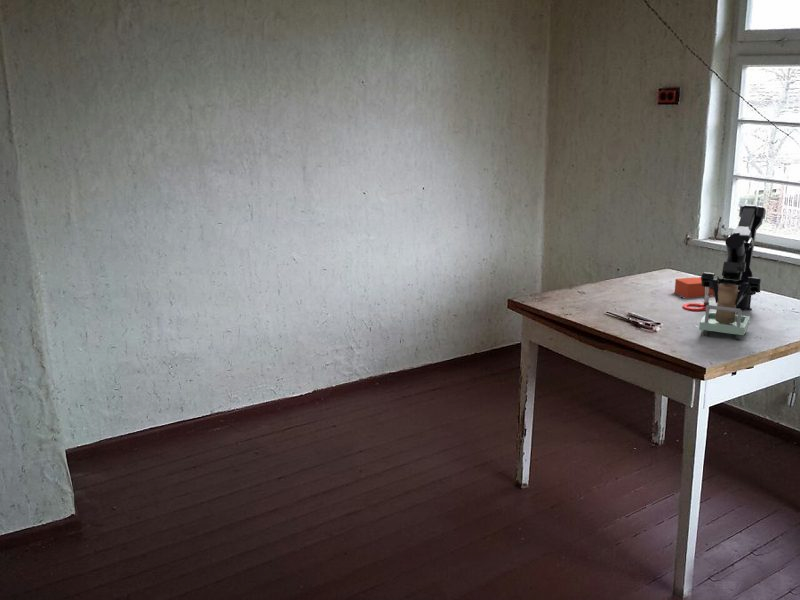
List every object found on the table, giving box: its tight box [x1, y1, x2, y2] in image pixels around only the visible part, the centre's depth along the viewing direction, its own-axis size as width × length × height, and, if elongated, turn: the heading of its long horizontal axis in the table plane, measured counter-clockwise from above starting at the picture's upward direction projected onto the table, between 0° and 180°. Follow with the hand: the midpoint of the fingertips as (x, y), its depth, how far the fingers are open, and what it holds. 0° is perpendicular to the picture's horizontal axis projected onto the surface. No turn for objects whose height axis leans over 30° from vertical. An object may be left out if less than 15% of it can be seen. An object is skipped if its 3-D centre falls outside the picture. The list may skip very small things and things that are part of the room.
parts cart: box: [698, 304, 751, 341], centre depth 259 cm, size 14×14×11 cm
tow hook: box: [682, 287, 711, 312], centre depth 288 cm, size 8×13×9 cm
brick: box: [674, 276, 720, 299], centre depth 308 cm, size 18×9×6 cm, turn 104°
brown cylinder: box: [715, 283, 738, 324], centre depth 258 cm, size 6×6×12 cm
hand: (726, 303), depth 256 cm, fingers closed on brown cylinder, 6 cm apart
